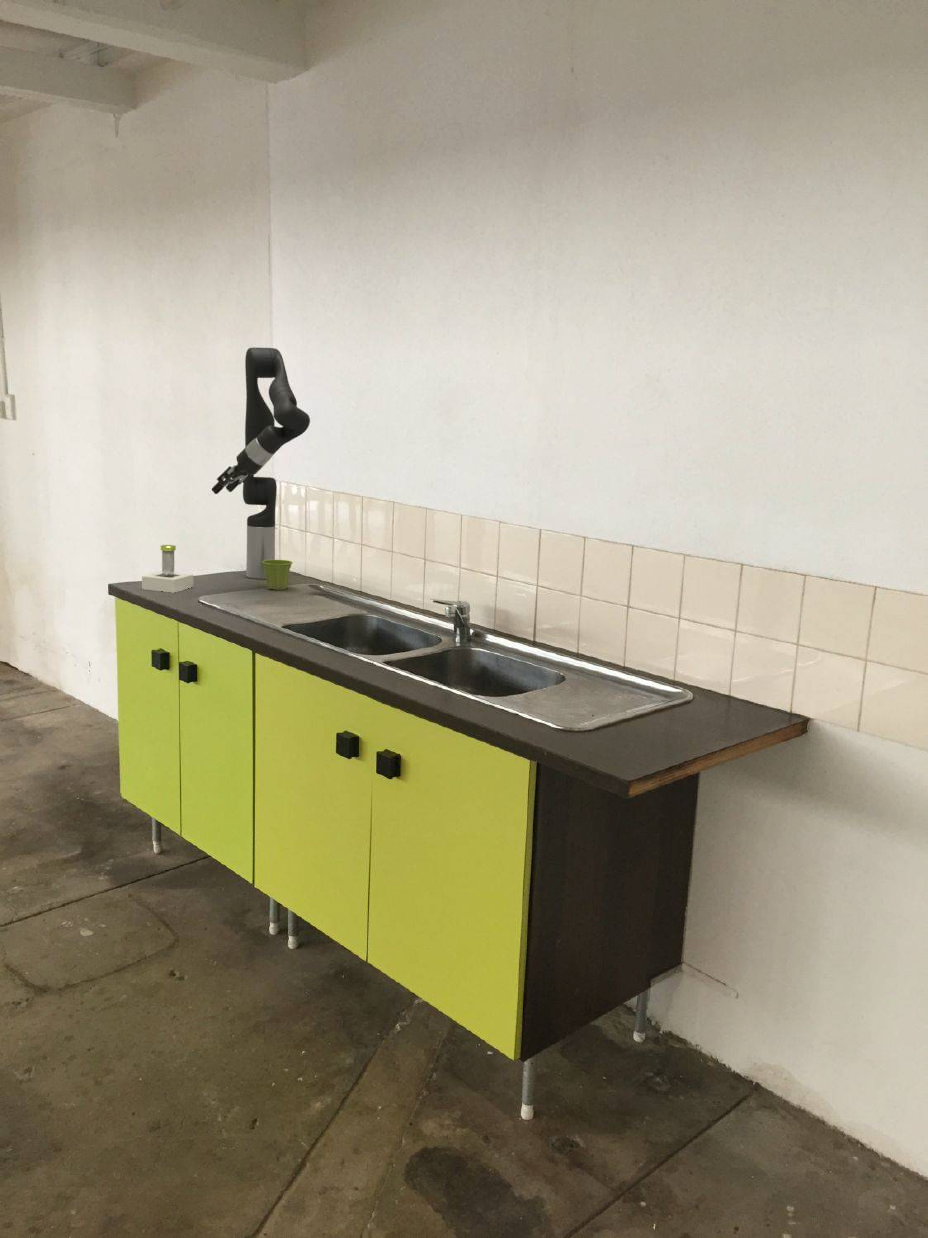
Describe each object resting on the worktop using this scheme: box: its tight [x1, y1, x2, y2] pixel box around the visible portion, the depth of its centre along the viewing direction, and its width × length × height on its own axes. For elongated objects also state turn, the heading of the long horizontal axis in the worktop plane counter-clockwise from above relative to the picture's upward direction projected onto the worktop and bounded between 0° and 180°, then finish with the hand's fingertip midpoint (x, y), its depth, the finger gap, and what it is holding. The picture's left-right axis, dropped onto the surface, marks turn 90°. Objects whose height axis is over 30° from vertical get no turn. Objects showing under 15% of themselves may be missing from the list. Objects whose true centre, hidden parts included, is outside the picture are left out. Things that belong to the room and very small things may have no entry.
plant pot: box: [262, 559, 293, 591], centre depth 329 cm, size 9×9×9 cm
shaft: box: [160, 544, 177, 578], centre depth 319 cm, size 4×4×13 cm
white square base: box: [141, 570, 194, 594], centre depth 320 cm, size 11×11×4 cm
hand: (221, 490), depth 316 cm, fingers open, 8 cm apart
